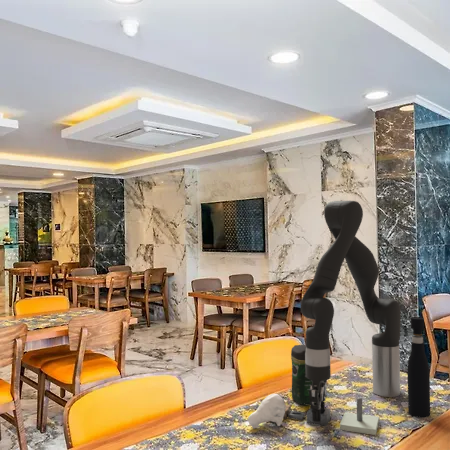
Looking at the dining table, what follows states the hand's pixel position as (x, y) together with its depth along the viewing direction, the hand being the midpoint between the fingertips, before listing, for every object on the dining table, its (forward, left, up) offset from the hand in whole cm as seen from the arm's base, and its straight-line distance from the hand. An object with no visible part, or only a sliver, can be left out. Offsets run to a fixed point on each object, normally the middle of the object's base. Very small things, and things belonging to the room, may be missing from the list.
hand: (318, 417), depth 142 cm
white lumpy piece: (+9, -14, -1) cm, 17 cm away
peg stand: (-1, +12, -1) cm, 12 cm away
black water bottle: (-17, +28, -1) cm, 33 cm away
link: (0, 0, -1) cm, 1 cm away
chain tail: (0, -9, -1) cm, 9 cm away
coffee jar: (-15, -8, -1) cm, 17 cm away
